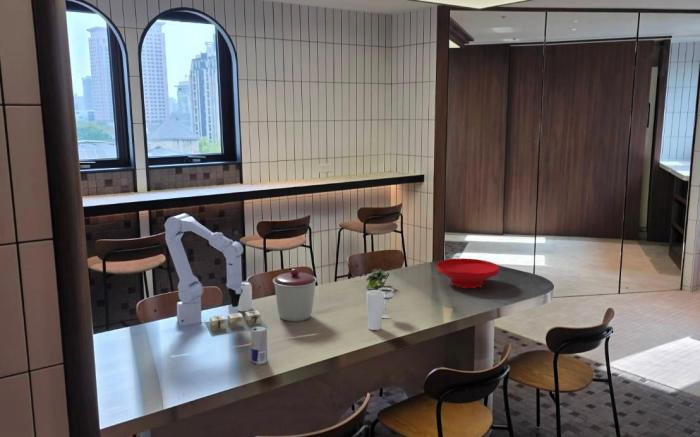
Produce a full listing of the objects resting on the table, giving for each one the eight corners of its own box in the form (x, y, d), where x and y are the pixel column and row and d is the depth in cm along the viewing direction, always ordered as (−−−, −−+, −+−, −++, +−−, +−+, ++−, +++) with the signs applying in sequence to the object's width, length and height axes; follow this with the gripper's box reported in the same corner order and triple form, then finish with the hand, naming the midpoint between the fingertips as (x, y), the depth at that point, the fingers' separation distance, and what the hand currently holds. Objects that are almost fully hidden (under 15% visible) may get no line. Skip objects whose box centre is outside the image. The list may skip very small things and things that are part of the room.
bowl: (504, 293, 269) (505, 273, 267) (440, 293, 269) (441, 273, 267) (489, 276, 299) (490, 257, 297) (432, 275, 299) (433, 257, 297)
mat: (211, 337, 213) (211, 336, 213) (204, 323, 227) (204, 322, 227) (268, 329, 222) (268, 327, 222) (257, 316, 236) (257, 314, 236)
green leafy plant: (375, 295, 281) (384, 274, 285) (388, 297, 272) (397, 275, 276) (358, 286, 276) (368, 264, 280) (371, 287, 267) (381, 265, 271)
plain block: (230, 328, 221) (230, 318, 221) (228, 323, 226) (227, 314, 225) (243, 326, 223) (243, 316, 223) (240, 322, 228) (240, 312, 227)
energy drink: (252, 358, 195) (251, 325, 193) (267, 358, 195) (267, 325, 193) (250, 365, 189) (250, 331, 187) (266, 365, 190) (266, 331, 188)
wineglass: (395, 315, 238) (396, 288, 236) (389, 320, 232) (390, 292, 230) (380, 313, 241) (381, 286, 239) (374, 318, 235) (375, 290, 232)
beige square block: (212, 330, 218) (212, 320, 218) (210, 326, 223) (210, 316, 222) (225, 328, 220) (225, 318, 220) (223, 324, 225) (222, 314, 224)
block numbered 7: (248, 325, 224) (248, 315, 223) (245, 321, 229) (245, 311, 228) (260, 323, 226) (260, 314, 225) (257, 319, 231) (257, 310, 230)
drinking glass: (385, 326, 225) (385, 290, 223) (380, 332, 219) (381, 295, 216) (368, 324, 227) (369, 289, 225) (363, 330, 221) (364, 293, 218)
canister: (293, 307, 247) (292, 261, 243) (325, 316, 237) (325, 267, 233) (264, 319, 233) (263, 270, 229) (297, 329, 222) (297, 277, 218)
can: (248, 312, 240) (248, 285, 238) (234, 311, 241) (233, 284, 239) (254, 307, 246) (253, 281, 244) (240, 306, 248) (239, 280, 246)
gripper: (248, 276, 216) (249, 310, 218) (239, 267, 229) (240, 299, 231) (230, 278, 213) (231, 313, 215) (222, 269, 226) (223, 301, 228)
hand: (235, 306), depth 223 cm, fingers closed
